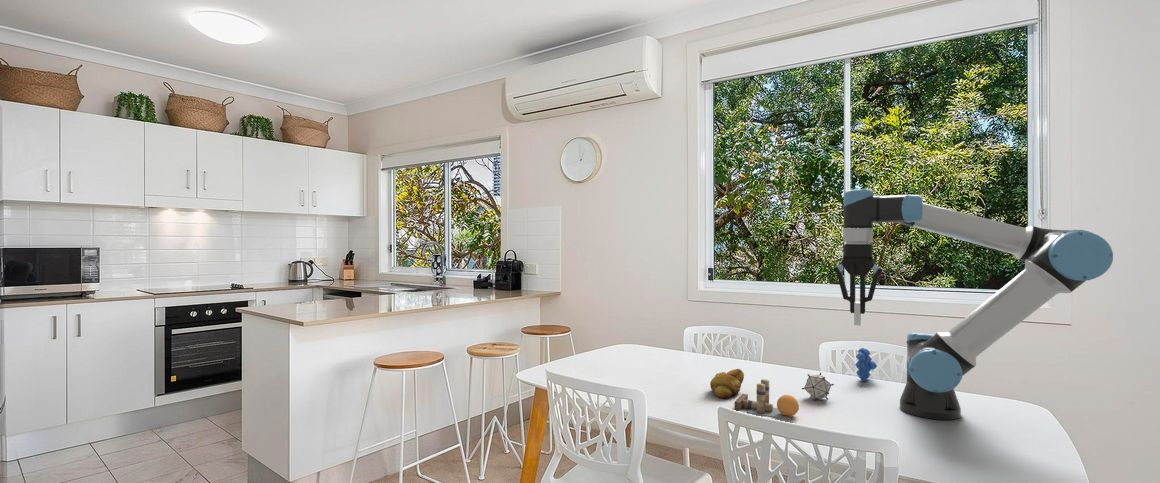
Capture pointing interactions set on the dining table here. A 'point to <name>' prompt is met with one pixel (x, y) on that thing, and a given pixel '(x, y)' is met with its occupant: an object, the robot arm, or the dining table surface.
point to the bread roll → (727, 383)
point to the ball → (787, 405)
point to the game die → (817, 386)
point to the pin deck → (770, 413)
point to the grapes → (864, 364)
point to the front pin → (753, 405)
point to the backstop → (740, 401)
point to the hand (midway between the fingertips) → (857, 324)
